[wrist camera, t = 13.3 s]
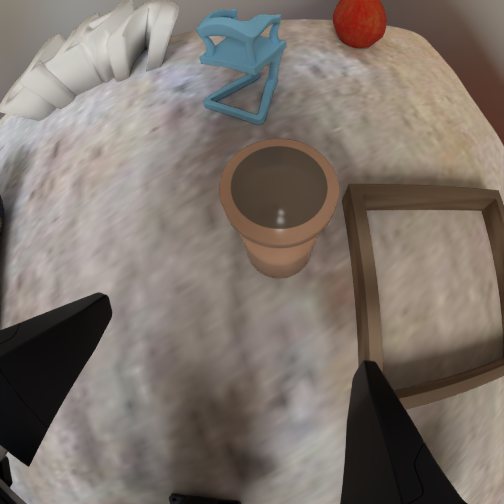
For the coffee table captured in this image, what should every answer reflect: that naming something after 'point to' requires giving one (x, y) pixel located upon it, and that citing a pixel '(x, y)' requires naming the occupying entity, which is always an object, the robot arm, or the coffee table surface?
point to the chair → (242, 56)
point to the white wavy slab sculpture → (91, 57)
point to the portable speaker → (1, 212)
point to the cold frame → (365, 281)
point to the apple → (360, 22)
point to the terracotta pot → (279, 202)
